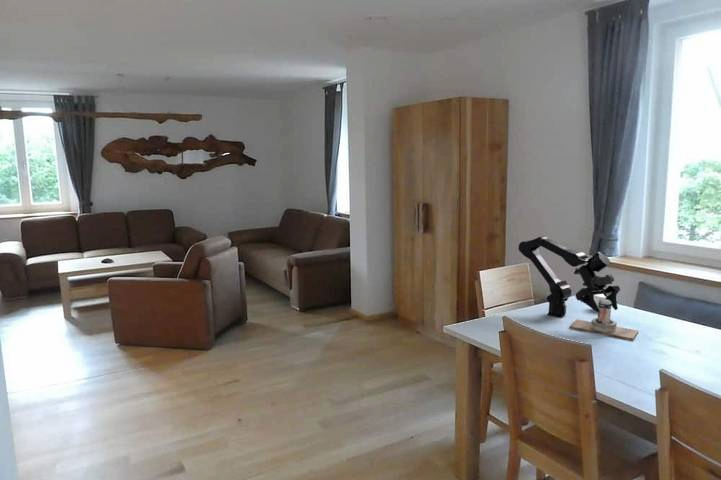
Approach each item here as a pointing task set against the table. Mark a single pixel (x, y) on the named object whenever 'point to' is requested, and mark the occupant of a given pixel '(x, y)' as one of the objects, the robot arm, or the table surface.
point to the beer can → (604, 311)
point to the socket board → (604, 329)
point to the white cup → (598, 297)
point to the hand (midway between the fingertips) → (607, 310)
